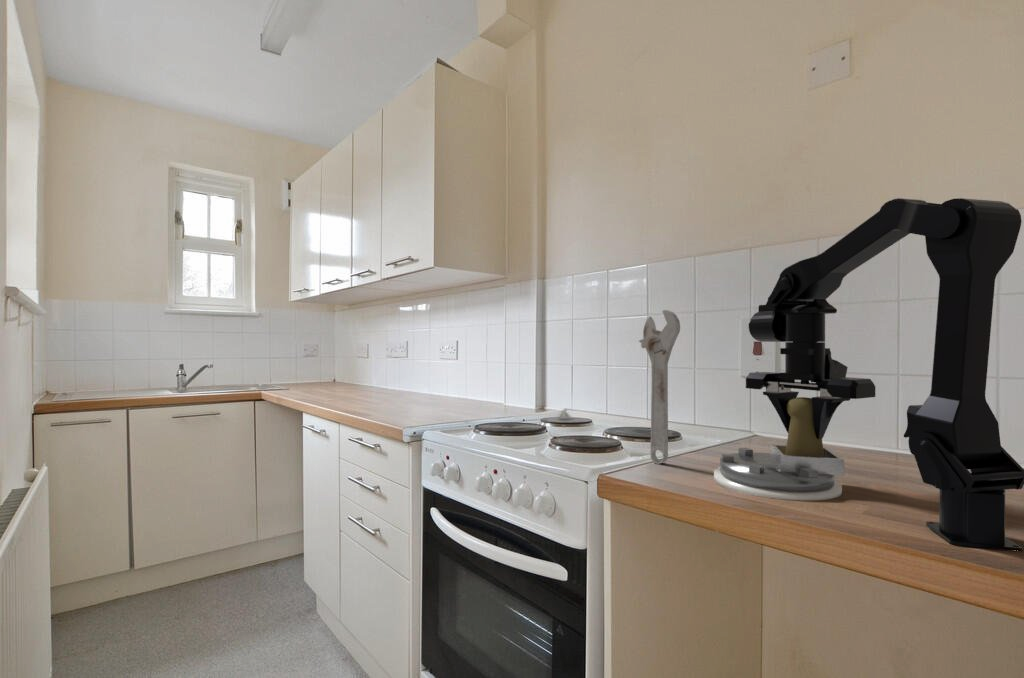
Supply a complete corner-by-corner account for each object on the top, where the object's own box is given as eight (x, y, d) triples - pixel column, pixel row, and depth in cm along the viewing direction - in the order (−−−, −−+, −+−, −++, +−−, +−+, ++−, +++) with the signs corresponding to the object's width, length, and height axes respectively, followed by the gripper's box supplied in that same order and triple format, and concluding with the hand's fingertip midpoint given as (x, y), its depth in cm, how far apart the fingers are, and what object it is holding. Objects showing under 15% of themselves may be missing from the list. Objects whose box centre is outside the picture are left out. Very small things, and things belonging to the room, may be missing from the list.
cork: (777, 459, 86) (777, 395, 86) (814, 460, 86) (814, 396, 86) (793, 468, 80) (794, 399, 80) (833, 469, 80) (833, 400, 80)
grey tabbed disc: (725, 485, 79) (725, 457, 79) (716, 460, 95) (716, 436, 95) (853, 496, 74) (853, 466, 74) (820, 467, 90) (820, 442, 90)
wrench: (637, 460, 100) (638, 310, 100) (642, 458, 102) (642, 311, 102) (675, 467, 95) (676, 309, 95) (680, 465, 96) (680, 309, 96)
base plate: (860, 508, 72) (860, 499, 72) (718, 495, 78) (718, 487, 78) (822, 473, 91) (822, 466, 91) (710, 465, 96) (710, 458, 96)
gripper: (895, 342, 78) (895, 442, 78) (783, 341, 95) (783, 424, 95) (854, 342, 73) (854, 449, 73) (743, 341, 90) (743, 428, 90)
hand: (804, 436), depth 83 cm, fingers closed on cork, 4 cm apart
